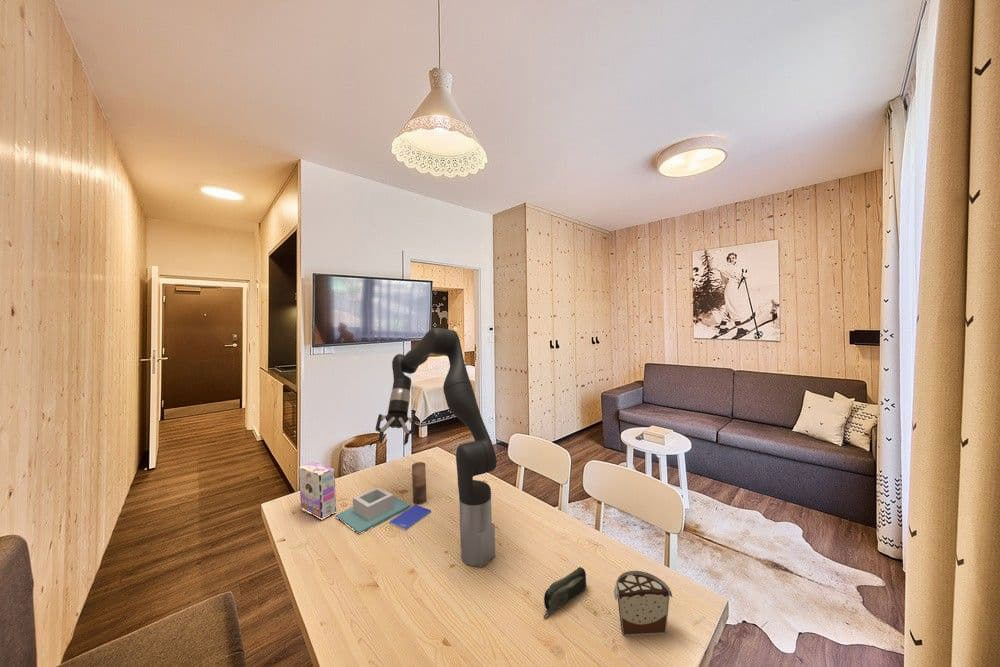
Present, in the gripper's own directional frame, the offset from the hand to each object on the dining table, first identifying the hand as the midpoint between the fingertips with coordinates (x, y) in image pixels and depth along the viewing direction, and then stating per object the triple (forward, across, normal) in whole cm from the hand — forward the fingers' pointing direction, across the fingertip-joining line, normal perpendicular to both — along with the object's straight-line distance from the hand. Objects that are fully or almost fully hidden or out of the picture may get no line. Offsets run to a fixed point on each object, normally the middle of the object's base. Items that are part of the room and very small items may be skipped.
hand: (393, 443), depth 126 cm
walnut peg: (+18, +13, +11) cm, 25 cm away
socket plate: (+22, -3, +9) cm, 24 cm away
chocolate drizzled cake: (+46, +59, -51) cm, 90 cm away
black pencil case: (+43, +46, -41) cm, 75 cm away
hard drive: (+25, +10, +2) cm, 27 cm away
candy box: (+22, -22, +17) cm, 36 cm away
